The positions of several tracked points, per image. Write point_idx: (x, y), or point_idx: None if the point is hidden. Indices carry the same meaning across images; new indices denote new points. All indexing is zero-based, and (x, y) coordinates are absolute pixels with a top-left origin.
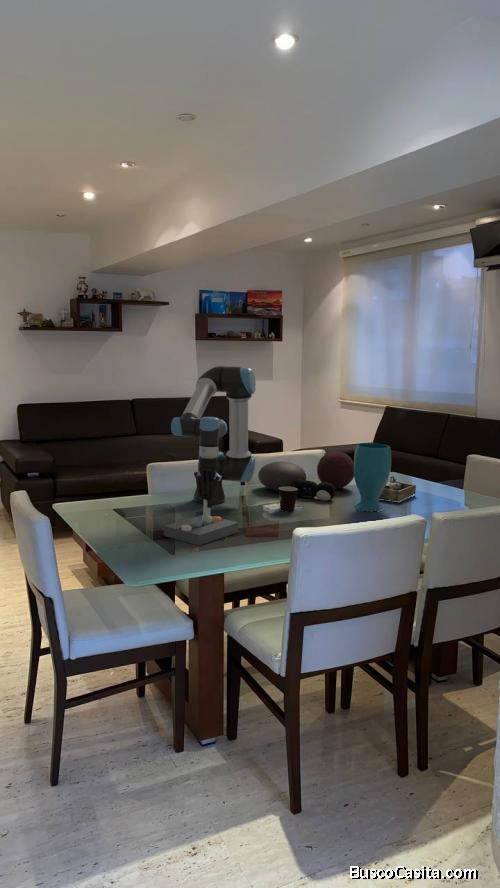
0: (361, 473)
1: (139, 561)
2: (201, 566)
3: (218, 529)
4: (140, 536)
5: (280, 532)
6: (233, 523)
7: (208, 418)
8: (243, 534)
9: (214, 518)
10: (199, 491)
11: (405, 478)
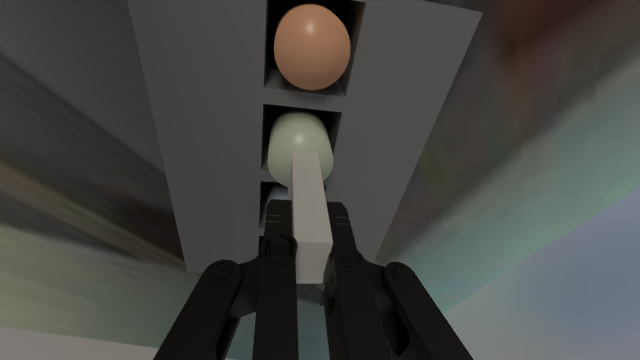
0: None
1: (304, 346)
2: None
3: (403, 190)
4: (150, 276)
5: None
6: (453, 60)
7: None
8: (486, 28)
9: (316, 86)
10: (217, 357)
11: None
